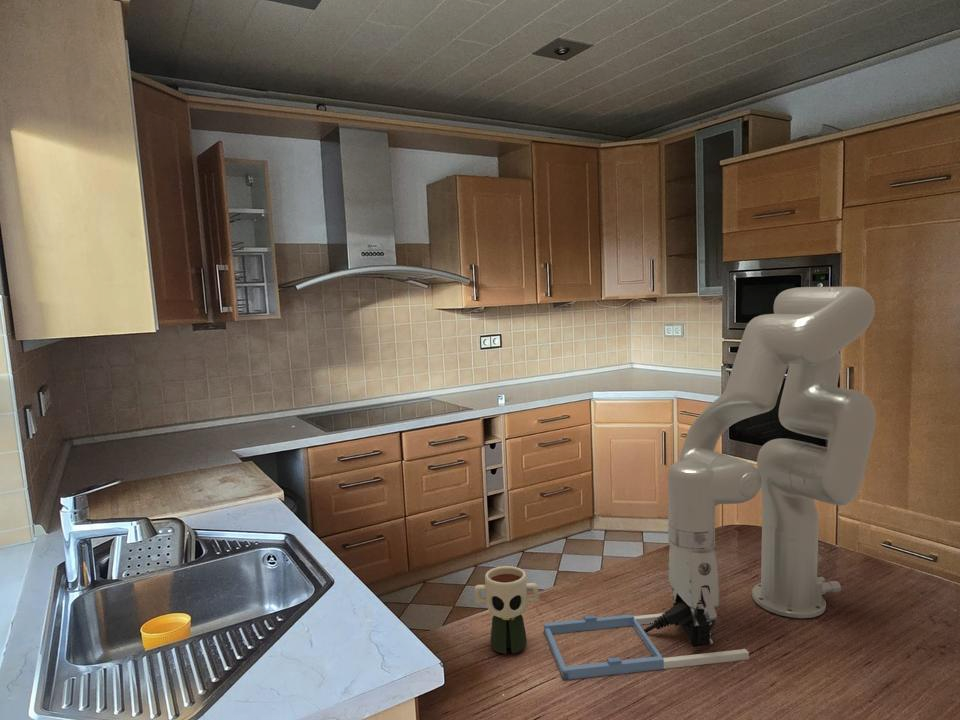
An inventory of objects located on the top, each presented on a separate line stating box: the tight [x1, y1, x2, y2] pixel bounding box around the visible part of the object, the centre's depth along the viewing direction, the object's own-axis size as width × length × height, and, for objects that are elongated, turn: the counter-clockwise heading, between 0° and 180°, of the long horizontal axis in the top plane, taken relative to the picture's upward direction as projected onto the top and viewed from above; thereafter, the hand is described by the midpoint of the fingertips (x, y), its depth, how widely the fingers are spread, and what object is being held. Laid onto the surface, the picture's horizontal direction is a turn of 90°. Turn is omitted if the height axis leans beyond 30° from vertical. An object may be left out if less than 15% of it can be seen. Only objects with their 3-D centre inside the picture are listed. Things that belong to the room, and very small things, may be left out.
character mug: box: [474, 565, 539, 654], centre depth 106 cm, size 11×7×13 cm, turn 88°
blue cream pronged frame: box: [543, 612, 750, 681], centre depth 106 cm, size 31×14×2 cm, turn 97°
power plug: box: [643, 600, 717, 646], centre depth 107 cm, size 6×8×12 cm
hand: (691, 633), depth 107 cm, fingers closed on power plug, 5 cm apart
